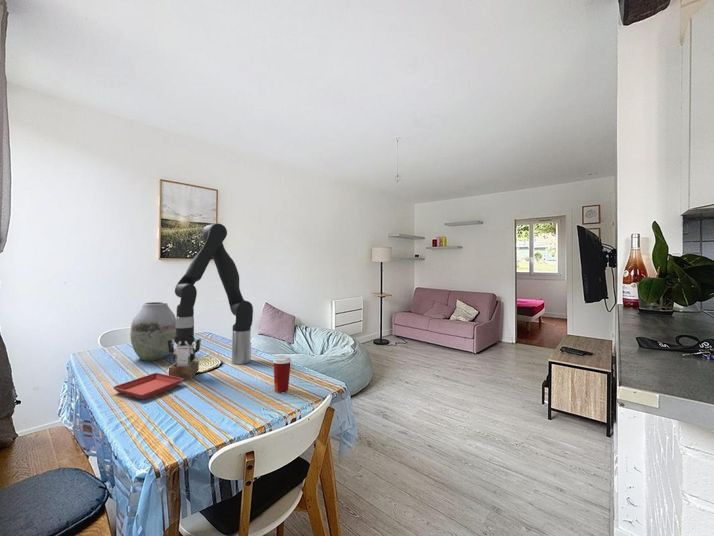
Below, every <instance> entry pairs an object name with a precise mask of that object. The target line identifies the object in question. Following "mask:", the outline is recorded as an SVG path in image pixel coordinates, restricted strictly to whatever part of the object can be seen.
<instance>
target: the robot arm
mask: <svg viewBox="0 0 714 536" xmlns="http://www.w3.org/2000/svg"><path fill="white" fill-rule="evenodd" d="M227 235H228V230H227V228H226V227H225V225H224V224H222V223H211V224H207V225H206V226H204V227H203V229H202V237H203V239H204V241H205V243H204V244H203V246H202V248H201V249H200V250H199V251H198V253H197V254H196V255H195V256H194V257H193V259H192V260H191V262H190V264H189V266H188V267H187V270H186V272H185V274H183V276H181V278H180V280H179V281H178V282H177V284H176V285H175V289H174V294H175V295H176V297H178V298H179V299H180V301H179V304H178V305H177V306H176V316H175V317H176V324H175V326H176V338H175V339H173V340H172V339H170V340H169V341H168V348H169V354H172V355H173V361H174V362H175V354H176V347H174V345H176V346H180V345H186V346H189V347H190V352H191V354H190V362H192V361H193V360H196V353H198V352H200V349H201V342H202V339H201V338H195V317H194V314H195V309H194V307H195V304H196V300H197V295H198V294H197V293H198V290H197V288H196V286H195V284H196V282H198V281H200V280H201V279H202V278H203V275H204V274H205V272H206V269H207V268H208V265H209V263H210V262H211V260H212V259H213V261H214V262H213V263H214V265H215V267H216V270H217V274H218V277H219V279H220V281H221V283H222V287H223V289H224V292H225V294H226V297H227V301H228V305H229V309H230V312H231V313H232V315H233V316H235V323H234V324H233V325H232V332H231V333H232V336H231V338H232V342H231V363H232V364H233V365H234V364H235V365H243V364H249V363H250V361H251V360H252V342H251V337H252V336H251V333H252V332H251V331H252V325H253V319H254V306H253V304H252V303H251V302H250V301H249V300H245V299H244V297H243V295H242V292H241V289H240V288H241V287H240V274H239V271H238V268H237V265H236V263H235V261H234V260H233V259H232V257H231V255H229V253H228V252H227V250H226V248H225V246H224V244H223V242H224V241H225V240H226V238H227ZM174 342H175V343H174ZM173 344H174V345H173ZM192 344H194V346H195V347H194V346H192V347H191V346H190V345H192Z"/></svg>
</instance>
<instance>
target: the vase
mask: <svg viewBox="0 0 714 536" xmlns="http://www.w3.org/2000/svg"><path fill="white" fill-rule="evenodd" d="M175 315H176V314H175V313H174V312H173V310H172V309H171V308H170V306H169V305H168V303H167V301H149V302H144V303H142V304H141V307H140V308H139V310H137V312H136V313H135V315H134V317H133V318H132V322H131V325H130V330H129V331H130V335H129V336H130V341H131V342H130V343H131V346H132V349H133V350H134V352H135V354H136V355H137V357H138V358H139V359H140V360H142V361H147V362H148V361H157V360H158V361H159V360H162V359H164V358H166V357H167V356H168V355H169V354H170V353H169V348H168V341H169V340H170V339H172V340H173V339H175V338H176V326H175V324H176V317H177V316H175ZM175 344H176V343H175V342H174V344H173V346H174V345H175Z"/></svg>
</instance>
